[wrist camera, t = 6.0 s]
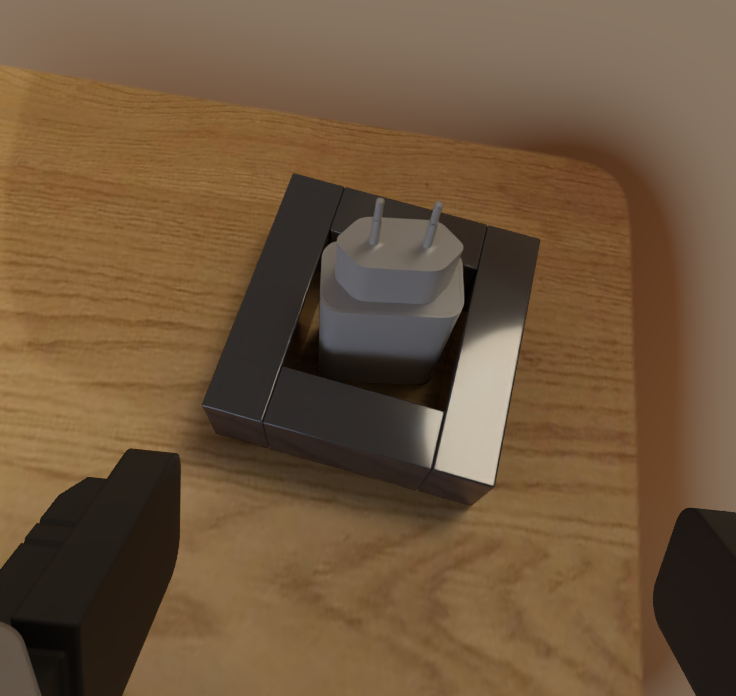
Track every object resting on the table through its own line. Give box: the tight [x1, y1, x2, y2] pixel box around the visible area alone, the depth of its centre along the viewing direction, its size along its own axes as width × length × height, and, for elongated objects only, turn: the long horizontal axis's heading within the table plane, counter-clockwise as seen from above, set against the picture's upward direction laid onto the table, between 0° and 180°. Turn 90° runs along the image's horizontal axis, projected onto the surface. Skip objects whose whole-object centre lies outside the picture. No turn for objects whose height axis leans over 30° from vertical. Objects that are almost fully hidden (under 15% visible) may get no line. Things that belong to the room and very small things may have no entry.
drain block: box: [202, 173, 540, 506], centre depth 29 cm, size 12×12×4 cm
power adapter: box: [319, 198, 464, 385], centre depth 26 cm, size 3×5×12 cm, turn 89°
